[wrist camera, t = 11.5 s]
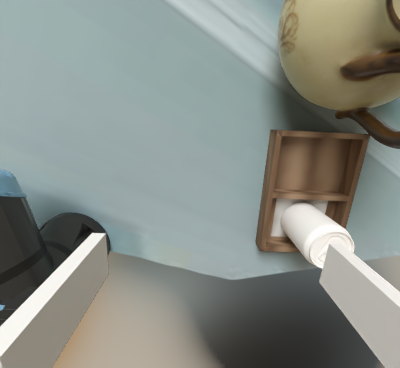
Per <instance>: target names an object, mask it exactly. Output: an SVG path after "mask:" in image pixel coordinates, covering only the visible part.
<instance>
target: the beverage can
mask: <svg viewBox="0 0 400 368" xmlns="http://www.w3.org/2000/svg"><path fill="white" fill-rule="evenodd" d="M281 226H282V229H283V230H284V232H285V233H286V234H287V236H288V237H289V238H290V239H291V241H292V242H293V243H294V244H295V246H296V247H297V248H298V249H299V251H300V252H301V253H302V254H303V256H304V257H305V258H306V259H307V261H309V262H310V263H311V264H313V265H315V266H317V267H319V268H322V269H323V266H324V262H325V258H326V254H327V250H328V246H329V244H342V245H344V246H345V247H346V248H347V249H348V250H350V251H351V252H352V253H353V252H354V242H353V240H352V238H351V236H350V234H349V233H348V231H347V230H346V229H344V228H343V227H342V226H340V225H339V224H337V223H336V222H335V221H333V220H332V219H330V218H329V217H328V216H326V215H325V214H323V213H322V212H321V211H319V210H318V209H316V208H315V207H314V206H312V205H310V204H308V203H297V204H294V205H292V206H290V207H289V208H287V209H286V211H285V212H284V213H283V215H282V218H281Z"/></svg>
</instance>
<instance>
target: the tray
mask: <svg viewBox="0 0 400 368" xmlns="http://www.w3.org/2000/svg"><path fill="white" fill-rule="evenodd" d="M369 137H370V134H354V133H333V132H311V131H290V130H271V131H270V138H269V145H268V153H267V160H266V168H265V175H264V183H263V190H262V198H261V205H260V212H259V220H258V227H257V235H256V244H257V246H258V248H259V250H260V251H276V252H300V251H299V249H298V248H297V247H296V246H295V244H294V243H293V242H292V241H291V239H290V238H289V237H288V236H287V234H286V233H285V232H284V230H283V229H282V226H281V218H282V215H283V213H284V212H285V211H286V209H287V208H289V207H290V206H292V205H294V204H297V203H308V204H310V205H312V206H314V207H315V208H316V209H318V210H319V211H321V212H322V213H323V214H325V215H326V216H328V217H329V218H330V219H332V220H333V221H335V222H336V223H337V224H339V225H340V226H342V227H343V228H344V229H345V228H346V224H347V221H348V217H349V213H350V209H351V205H352V202H353V198H354V194H355V190H356V186H357V183H358V179H359V175H360V171H361V168H362V164H363V160H364V156H365V152H366V149H367V145H368V141H369Z"/></svg>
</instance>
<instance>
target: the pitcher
mask: <svg viewBox="0 0 400 368" xmlns="http://www.w3.org/2000/svg"><path fill="white" fill-rule="evenodd" d="M278 49H279V57H280V61H281V65H282V68H283V70H284V73H285V75H286V77H287V78H288V80H289V82H290V83H291V85H292V86H293V87H294V89H295V90H296V91H297V92H298V93H299V94H300V95H301V96H303V97H304V98H305V99H306V100H308V101H310V102H311V103H313V104H315V105H318V106H321V107H324V108H328V109H333V110H337V112H336V114H335V117H336V118H337V119H342V118H351V119H353V120H355V121H356V122H357V123H359V124H360V125H361V126H362V127H363V128H364V129H365V130H366V131H367V132H368V133H369V134H370V135H371V136H372V137H373V138H374V139H376V140H377V141H378V142H380V143H382V144H384V145H386V146H389V147H392V148H397V149H400V131H397V130H395V129H393V128H391V127H389V126H388V125H386V124H385V123H383V122H382V121H381V120H380V119H378V118H377V117H376V116H375V115H373V114H372V113H370V112H368V109H369V108H373V107H377V106H380V105H383V104H386V103H388V102H391V101H393V100H395V99H397V98H399V97H400V0H284V2H283V6H282V10H281V14H280V19H279V27H278Z"/></svg>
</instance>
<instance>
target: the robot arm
mask: <svg viewBox="0 0 400 368" xmlns="http://www.w3.org/2000/svg"><path fill="white" fill-rule="evenodd" d="M26 197H27V196H26V195H25V194H24V193H23V192H22V190H21V188H20V186H19V184H18V182H17V180H16V178H15V176H14V175H13V174H12V173H10V172H8V171H5V170H0V368H52V367H53V366H54V364H55V362H56V361H57V359H58V357H59V356H60V354H61V352H62V351H63V349H64V347H65V346H66V344H67V342H68V341H69V339H70V337H71V336H72V334H73V332H74V331H75V329H76V327H77V326H78V324H79V322H80V321H81V319H82V317H83V316H84V314H85V312H86V311H87V309H88V307H89V306H90V304H91V302H92V301H93V299H94V297H95V296H96V294H97V293H98V291H99V289H100V287H101V286H102V284H103V283H104V281H105V279H106V277H107V276H108V274H109V269H108V254H109V251H110V242H109V238H108V235H107V233H106V232H105V230H104V229H103V227H102V226H101V225H100V224H99V223H98V222H96V221H95V220H94V219H92V218H90V217H88V216H86V215H83V214H79V213H63V214H60V215H57V216H55V217H54V218H52V219H51V220H49V221H48V222H46V223H45V224H44V225H43V226H42V227H41V228H40V230H39V229H38V227H37V224H36V222H35V219H34V217H33V214H32V212H31V209H30V207H29V204H28V202H27V200H26ZM319 282H320V284H321V285H322V286H323V287H324V289H325V290H326V292H327V293H328V294H329V295H330V297H331V298H332V299H333V301H334V302H335V303H336V304H337V306H338V307H339V308H340V310H341V311H342V312H343V313H344V315H345V316H346V317H347V318H348V320H349V321H350V323H351V324H352V325H353V327H354V328H355V329H356V330H357V332H358V333H359V334H360V336H361V337H362V338H363V339H364V341H365V342H366V343H367V345H368V346H369V347H370V349H371V350H372V351H373V352H374V354H375V355H376V356H377V358H378V359H379V360H380V362H381V363H382V364H383V365H384V367H385V368H400V292H399V291H398V290H397V289H396V288H394V287H393V286H392V285H390V284H389V283H388V282H387V281H386V280H385V279H383V278H382V277H381V276H380V275H379V274H377V273H376V272H375V271H374V270H372V269H371V268H370V267H369V266H368V265H366V264H365V263H364V262H363V261H362V260H361V259H359V258H358V257H357V256H356V255H354V254H353V253H352V252H351V251H350V250H348V249H347V248H346V247H345V246H344V245H342V244H329V246H328V250H327V254H326V258H325V262H324V266H323V270H322V273H321V277H320V281H319Z"/></svg>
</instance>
